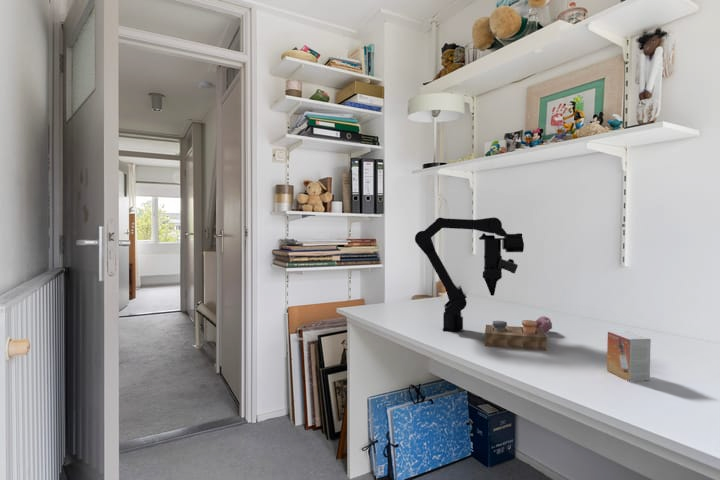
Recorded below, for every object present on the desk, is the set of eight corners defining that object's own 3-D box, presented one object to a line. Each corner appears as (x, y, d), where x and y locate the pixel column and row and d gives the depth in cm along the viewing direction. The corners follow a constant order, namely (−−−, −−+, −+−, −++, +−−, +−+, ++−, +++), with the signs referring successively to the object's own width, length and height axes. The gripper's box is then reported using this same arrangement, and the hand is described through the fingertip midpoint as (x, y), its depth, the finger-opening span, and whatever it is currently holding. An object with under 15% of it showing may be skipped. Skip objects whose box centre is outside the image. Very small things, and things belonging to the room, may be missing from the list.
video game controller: (546, 340, 141) (556, 323, 141) (534, 334, 142) (543, 316, 141) (539, 333, 151) (548, 317, 150) (528, 327, 152) (537, 311, 151)
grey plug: (492, 342, 134) (492, 323, 133) (492, 338, 138) (492, 320, 138) (506, 343, 132) (506, 324, 132) (506, 339, 136) (506, 321, 136)
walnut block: (484, 345, 131) (484, 333, 131) (485, 336, 142) (485, 324, 142) (546, 350, 125) (546, 337, 125) (542, 340, 136) (542, 328, 136)
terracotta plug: (522, 342, 131) (522, 322, 130) (521, 338, 135) (521, 319, 135) (537, 343, 129) (537, 323, 129) (536, 339, 133) (536, 320, 133)
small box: (606, 370, 107) (606, 330, 107) (626, 370, 108) (626, 330, 107) (628, 382, 99) (629, 339, 99) (650, 381, 100) (651, 338, 99)
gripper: (517, 254, 137) (517, 300, 137) (515, 251, 154) (515, 292, 155) (482, 253, 140) (482, 299, 141) (484, 250, 158) (484, 291, 158)
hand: (492, 295), depth 149 cm, fingers closed
